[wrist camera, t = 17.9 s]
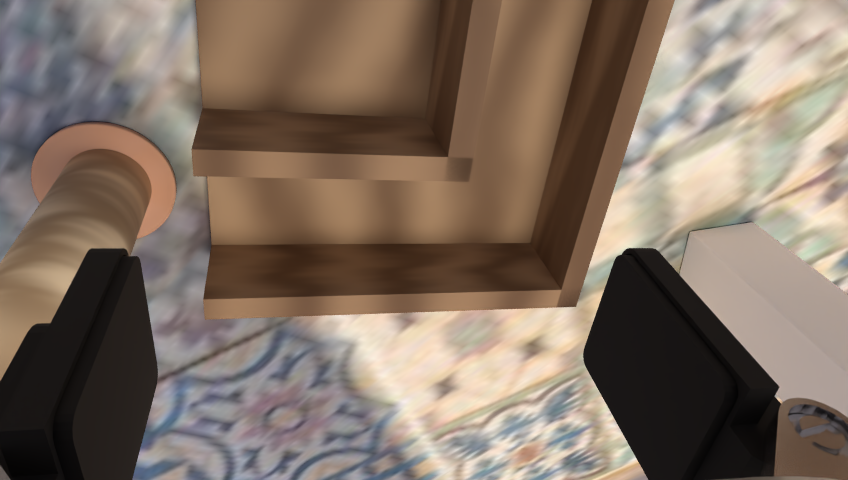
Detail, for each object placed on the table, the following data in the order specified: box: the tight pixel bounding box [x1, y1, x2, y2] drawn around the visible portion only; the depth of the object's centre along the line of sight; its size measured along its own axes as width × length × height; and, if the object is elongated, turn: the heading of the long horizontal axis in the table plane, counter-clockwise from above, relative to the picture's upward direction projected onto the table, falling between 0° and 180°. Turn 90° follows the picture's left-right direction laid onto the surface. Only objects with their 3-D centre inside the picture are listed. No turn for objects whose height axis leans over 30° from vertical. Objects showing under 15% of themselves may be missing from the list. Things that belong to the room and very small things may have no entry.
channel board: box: [192, 0, 675, 319], centre depth 36 cm, size 24×24×7 cm
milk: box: [679, 222, 848, 417], centre depth 43 cm, size 6×6×22 cm
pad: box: [31, 122, 177, 239], centre depth 37 cm, size 8×8×1 cm
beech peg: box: [0, 149, 152, 381], centre depth 31 cm, size 5×5×15 cm
